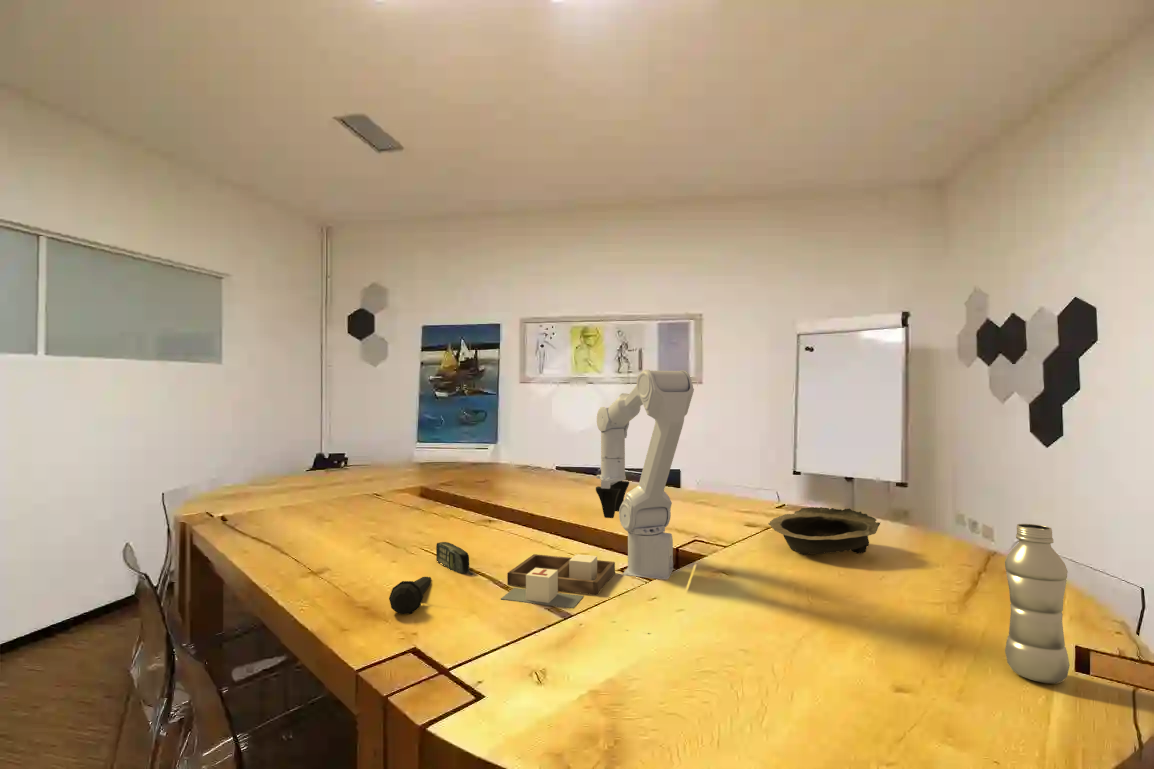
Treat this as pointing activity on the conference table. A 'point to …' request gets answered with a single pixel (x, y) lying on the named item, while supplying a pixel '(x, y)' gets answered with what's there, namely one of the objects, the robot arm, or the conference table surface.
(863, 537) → the stone bowl
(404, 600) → the microphone
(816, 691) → the conference table surface
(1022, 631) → the plastic bottle
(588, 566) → the blank cube
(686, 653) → the conference table surface
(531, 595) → the letter cube
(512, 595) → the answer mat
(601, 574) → the organizer
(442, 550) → the mobile phone
